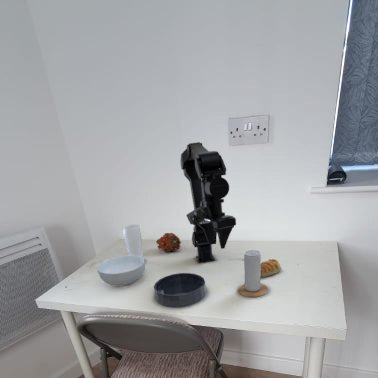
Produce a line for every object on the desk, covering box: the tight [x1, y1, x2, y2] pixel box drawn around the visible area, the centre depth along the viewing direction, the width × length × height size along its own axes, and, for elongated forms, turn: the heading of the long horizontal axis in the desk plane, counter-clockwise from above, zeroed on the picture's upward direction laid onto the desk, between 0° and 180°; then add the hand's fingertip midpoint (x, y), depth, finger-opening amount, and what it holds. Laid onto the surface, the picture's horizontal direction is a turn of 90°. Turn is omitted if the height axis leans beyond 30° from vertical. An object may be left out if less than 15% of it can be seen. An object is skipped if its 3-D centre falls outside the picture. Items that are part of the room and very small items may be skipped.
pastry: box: [260, 258, 282, 278], centre depth 112 cm, size 9×7×4 cm
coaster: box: [238, 283, 269, 298], centre depth 102 cm, size 9×9×1 cm
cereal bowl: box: [96, 254, 146, 287], centre depth 117 cm, size 17×17×7 cm
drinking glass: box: [121, 223, 145, 260], centre depth 131 cm, size 7×7×15 cm
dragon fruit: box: [156, 232, 182, 253], centre depth 141 cm, size 8×8×12 cm
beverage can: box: [243, 249, 262, 292], centre depth 100 cm, size 5×5×12 cm
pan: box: [153, 272, 207, 308], centre depth 104 cm, size 16×16×4 cm
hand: (216, 246), depth 107 cm, fingers open, 9 cm apart
